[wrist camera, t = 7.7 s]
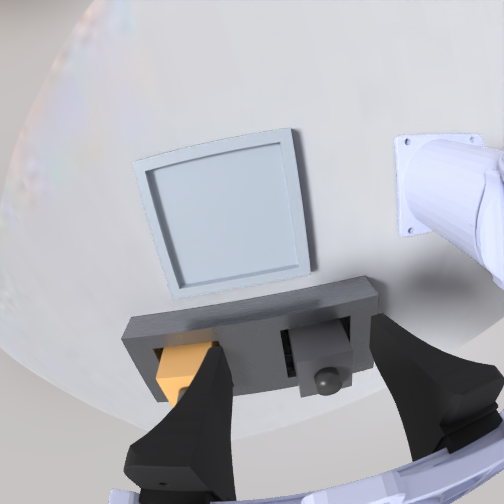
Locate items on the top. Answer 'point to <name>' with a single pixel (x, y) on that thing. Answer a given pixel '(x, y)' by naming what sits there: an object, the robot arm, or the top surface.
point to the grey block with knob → (321, 357)
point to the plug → (180, 368)
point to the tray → (226, 213)
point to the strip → (256, 333)
